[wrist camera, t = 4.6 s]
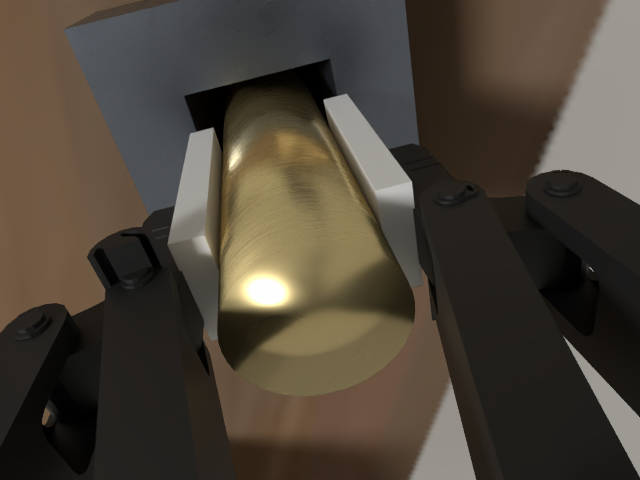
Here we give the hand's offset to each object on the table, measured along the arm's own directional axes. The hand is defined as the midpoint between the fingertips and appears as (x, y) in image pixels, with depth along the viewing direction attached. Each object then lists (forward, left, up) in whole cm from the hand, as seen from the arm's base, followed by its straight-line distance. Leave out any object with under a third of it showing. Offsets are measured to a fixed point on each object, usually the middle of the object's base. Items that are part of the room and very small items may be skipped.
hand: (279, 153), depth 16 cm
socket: (0, 0, -5) cm, 5 cm away
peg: (0, 0, -5) cm, 5 cm away
